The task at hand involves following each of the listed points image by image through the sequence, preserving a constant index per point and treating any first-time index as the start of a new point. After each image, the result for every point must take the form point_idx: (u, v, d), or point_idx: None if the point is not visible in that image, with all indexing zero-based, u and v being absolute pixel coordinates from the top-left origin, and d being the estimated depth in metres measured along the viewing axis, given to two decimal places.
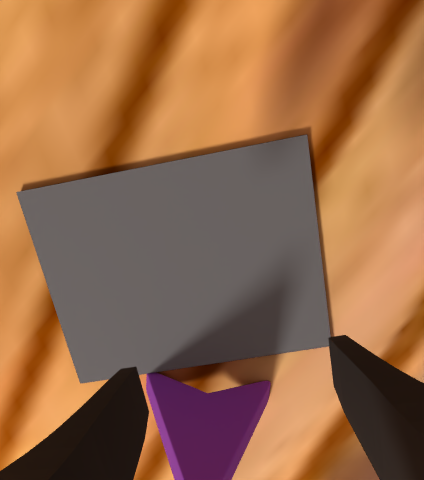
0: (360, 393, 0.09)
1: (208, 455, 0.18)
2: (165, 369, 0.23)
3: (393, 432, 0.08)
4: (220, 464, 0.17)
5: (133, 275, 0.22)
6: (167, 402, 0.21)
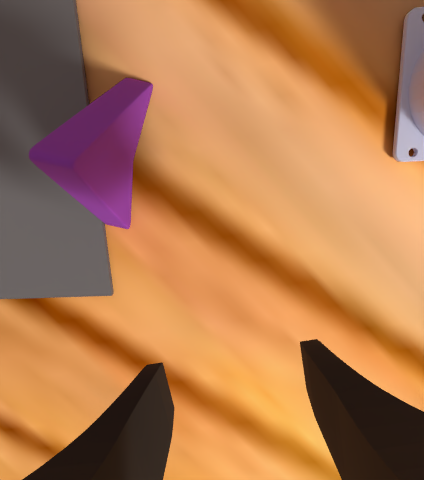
0: (325, 398, 0.09)
1: None
2: None
3: (349, 438, 0.08)
4: None
5: None
6: None
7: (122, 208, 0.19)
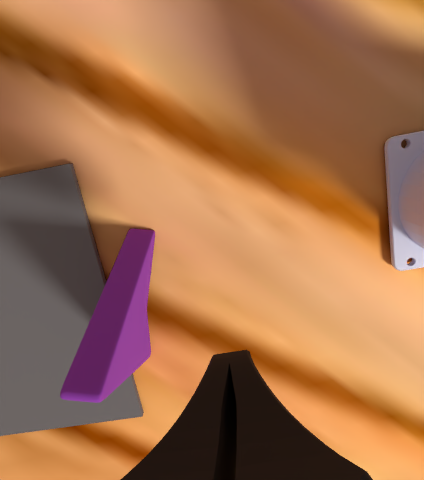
0: None
1: None
2: None
3: None
4: None
5: (19, 360, 0.23)
6: None
7: (142, 354, 0.20)
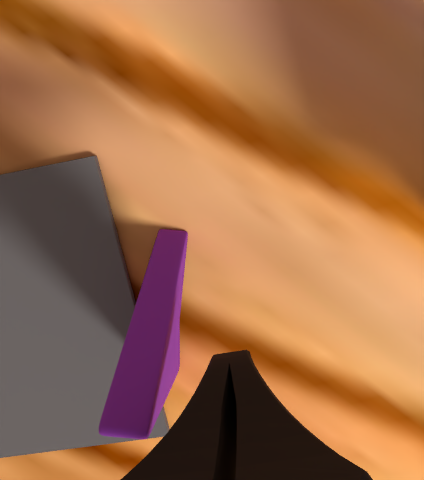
0: None
1: None
2: None
3: None
4: None
5: (34, 374, 0.21)
6: None
7: (175, 370, 0.18)
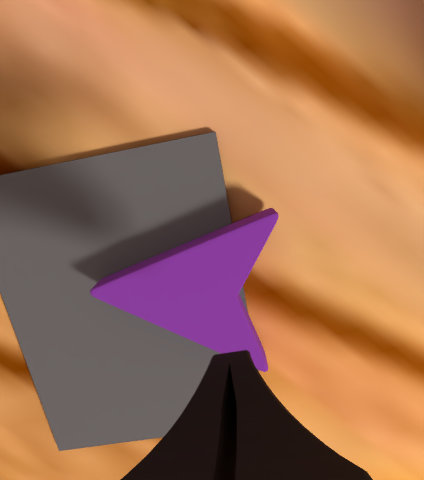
0: None
1: None
2: None
3: None
4: None
5: (133, 360, 0.20)
6: None
7: (221, 342, 0.18)
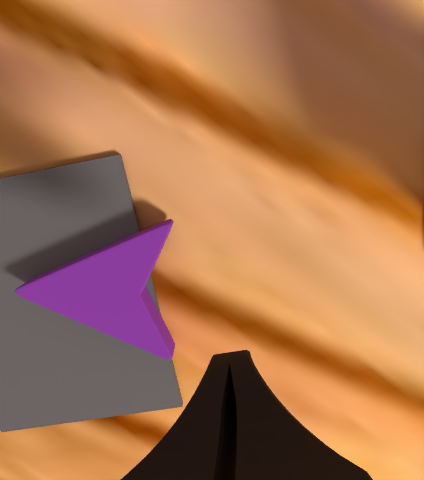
0: None
1: None
2: None
3: None
4: None
5: (61, 351, 0.23)
6: None
7: (129, 334, 0.21)
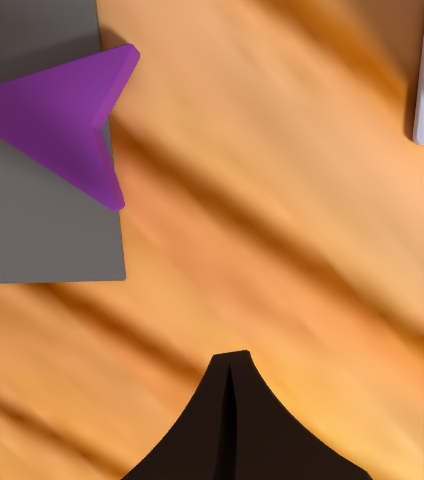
0: None
1: None
2: None
3: None
4: None
5: (0, 196, 0.21)
6: None
7: (74, 173, 0.19)
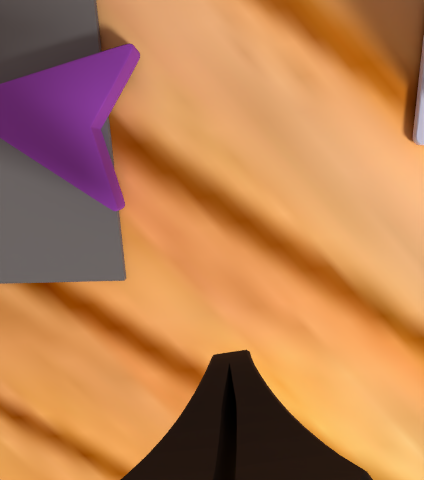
0: None
1: None
2: None
3: None
4: None
5: (0, 196, 0.21)
6: None
7: (74, 173, 0.19)
